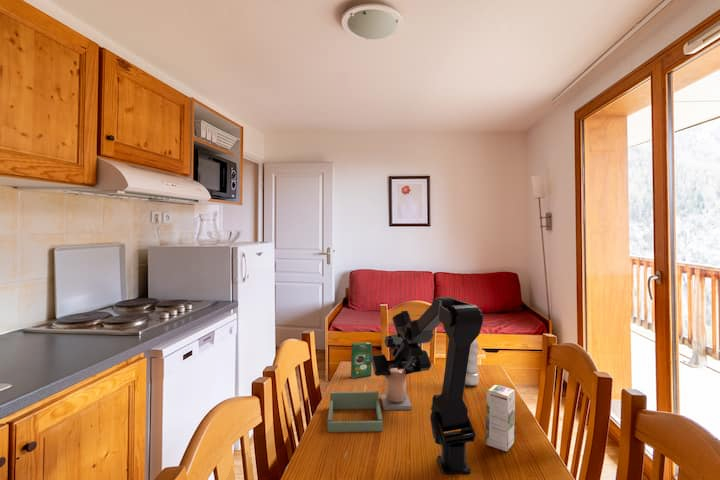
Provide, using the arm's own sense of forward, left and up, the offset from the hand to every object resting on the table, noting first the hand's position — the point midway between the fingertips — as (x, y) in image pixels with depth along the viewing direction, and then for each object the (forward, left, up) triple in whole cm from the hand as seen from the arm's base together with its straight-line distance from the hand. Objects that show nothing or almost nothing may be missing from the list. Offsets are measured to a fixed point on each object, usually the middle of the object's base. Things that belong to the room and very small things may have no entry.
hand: (394, 374), depth 126 cm
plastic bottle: (+14, -30, -9) cm, 34 cm away
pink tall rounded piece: (-1, 0, -7) cm, 7 cm away
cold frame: (-11, +13, -9) cm, 20 cm away
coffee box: (+24, +10, -9) cm, 28 cm away
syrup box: (-27, -25, -9) cm, 38 cm away
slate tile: (-1, 0, -9) cm, 9 cm away
